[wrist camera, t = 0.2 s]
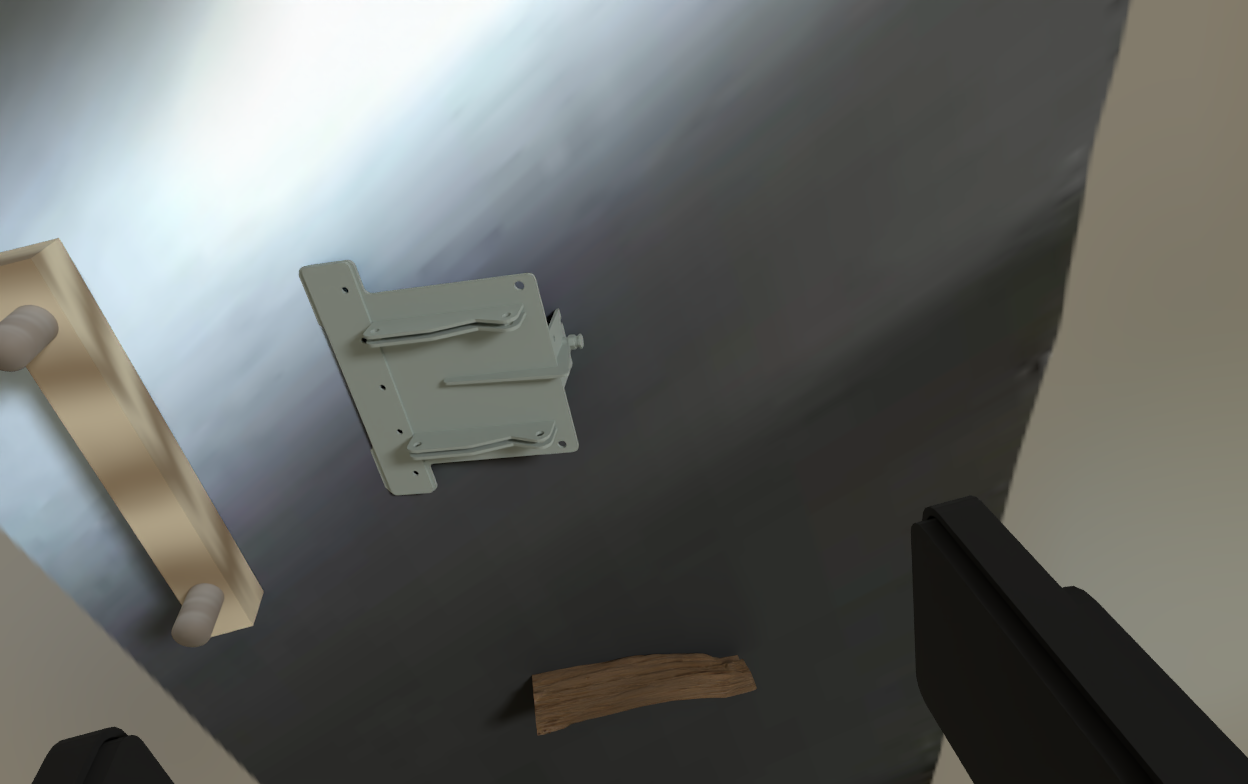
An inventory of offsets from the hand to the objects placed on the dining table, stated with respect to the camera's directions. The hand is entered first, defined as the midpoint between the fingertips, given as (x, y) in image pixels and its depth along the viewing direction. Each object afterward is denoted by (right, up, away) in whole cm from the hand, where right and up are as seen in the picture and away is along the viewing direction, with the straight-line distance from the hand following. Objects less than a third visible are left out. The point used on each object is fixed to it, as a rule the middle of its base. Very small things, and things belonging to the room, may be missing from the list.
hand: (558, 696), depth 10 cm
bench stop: (-26, +1, +37) cm, 45 cm away
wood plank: (+2, -16, +51) cm, 54 cm away
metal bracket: (-9, +6, +38) cm, 39 cm away
